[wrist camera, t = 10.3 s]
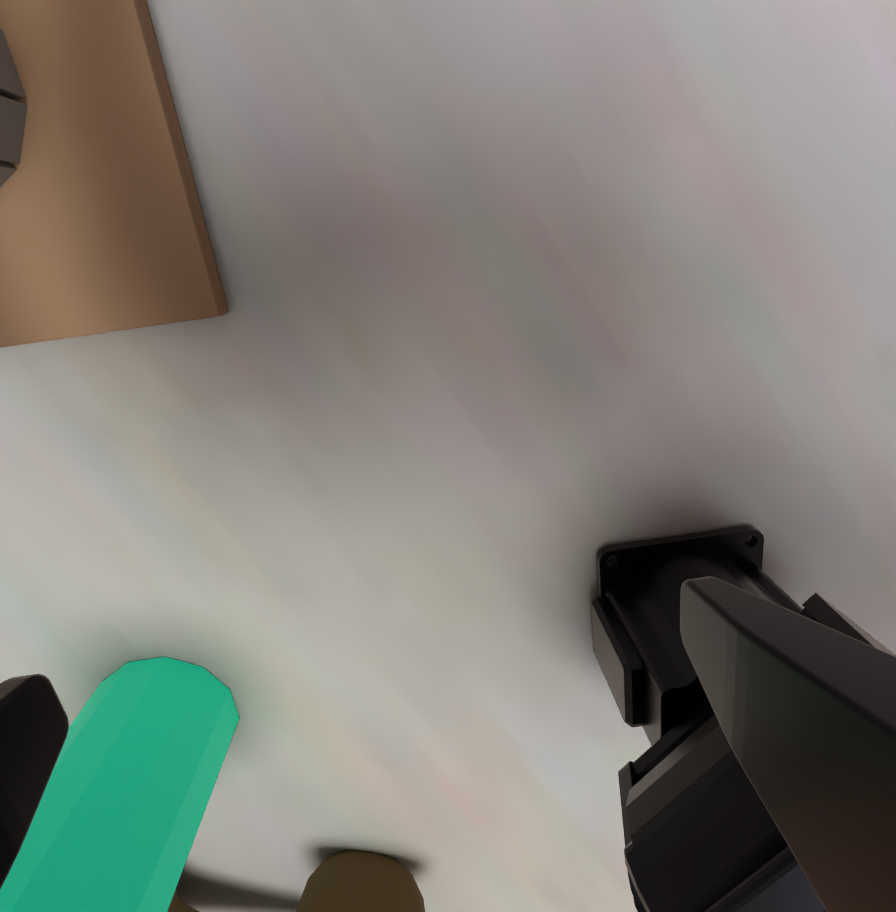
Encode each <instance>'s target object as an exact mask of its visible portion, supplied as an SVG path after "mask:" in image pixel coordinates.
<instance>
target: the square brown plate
mask: <svg viewBox="0 0 896 912" xmlns="http://www.w3.org/2000/svg"><path fill="white" fill-rule="evenodd" d="M0 29H2V30H3V32H4V35H5V38H6V41H7V44H8V46H9V49H10V52H11V55H12V58H13V60H14V63H15V66H16V69H17V72H18V75H19V77H20V80H21V83H22V86H23V89H24V92H25V94H26V97H27V98H23V99H17V100H16V101H18V102H21V103H23V104H26V105H28V106H27V114H26V121H25V129H24V136H23V144H22V151H21V159H20V164H17V163H12V162H10V163H11V164H12V165H13V166H14V167H15V168H16V169H17V170H16V171H15V173H14V174H13V175H12V176H11V177H10V178H9V179H8V180H7V181H6V182H5V183H4V184H3V185H2V186H1V187H0V347H7V346H14V345H21V344H28V343H35V342H42V341H49V340H56V339H62V338H69V337H76V336H83V335H90V334H97V333H104V332H111V331H118V330H125V329H132V328H139V327H146V326H153V325H160V324H167V323H174V322H181V321H188V320H195V319H202V318H209V317H216V316H220V315H223V314H226V313H229V311H228V307H227V304H226V300H225V296H224V292H223V289H222V285H221V281H220V277H219V274H218V270H217V266H216V262H215V259H214V255H213V251H212V247H211V243H210V240H209V236H208V232H207V228H206V225H205V221H204V217H203V213H202V210H201V206H200V202H199V198H198V194H197V191H196V187H195V183H194V179H193V176H192V172H191V168H190V164H189V161H188V157H187V153H186V149H185V146H184V142H183V138H182V134H181V130H180V127H179V123H178V119H177V115H176V112H175V108H174V104H173V100H172V97H171V93H170V89H169V85H168V81H167V78H166V74H165V70H164V66H163V63H162V59H161V55H160V51H159V48H158V44H157V40H156V36H155V32H154V29H153V25H152V21H151V17H150V14H149V10H148V6H147V2H146V0H0Z"/></svg>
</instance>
